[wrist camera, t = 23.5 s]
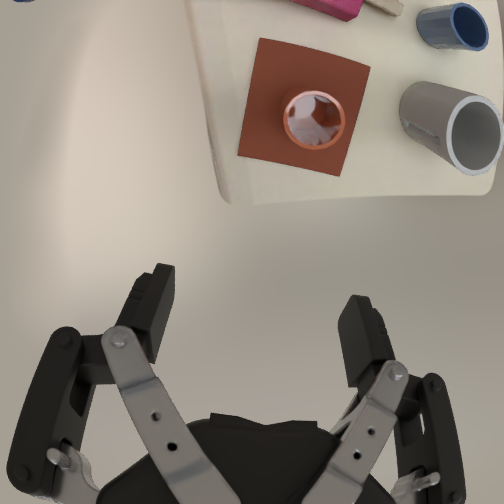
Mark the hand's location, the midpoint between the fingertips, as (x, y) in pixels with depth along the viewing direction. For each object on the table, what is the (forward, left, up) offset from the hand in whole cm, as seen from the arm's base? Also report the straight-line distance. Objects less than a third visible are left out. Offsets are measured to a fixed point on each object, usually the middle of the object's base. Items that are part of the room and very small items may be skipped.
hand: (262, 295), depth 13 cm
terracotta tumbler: (+4, +5, -28) cm, 28 cm away
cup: (+21, +10, -28) cm, 37 cm away
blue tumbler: (+19, +23, -28) cm, 41 cm away
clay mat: (+4, +5, -28) cm, 29 cm away
